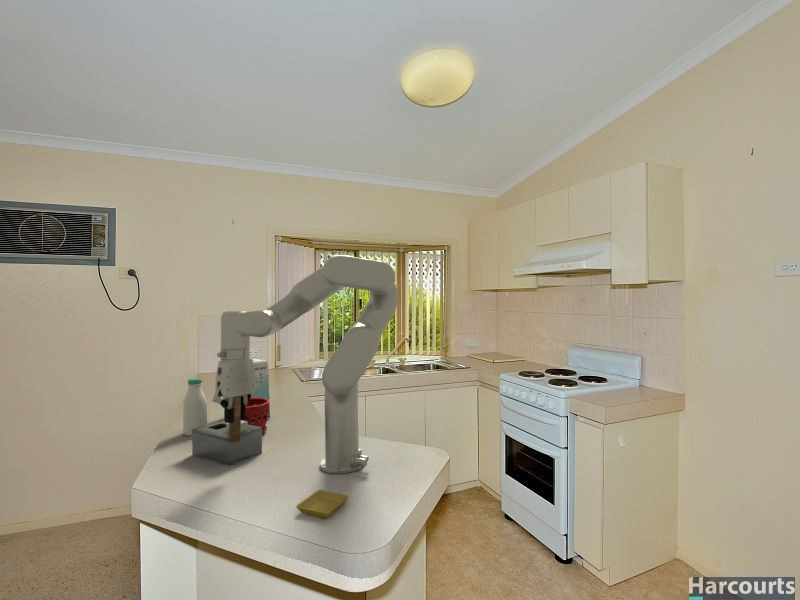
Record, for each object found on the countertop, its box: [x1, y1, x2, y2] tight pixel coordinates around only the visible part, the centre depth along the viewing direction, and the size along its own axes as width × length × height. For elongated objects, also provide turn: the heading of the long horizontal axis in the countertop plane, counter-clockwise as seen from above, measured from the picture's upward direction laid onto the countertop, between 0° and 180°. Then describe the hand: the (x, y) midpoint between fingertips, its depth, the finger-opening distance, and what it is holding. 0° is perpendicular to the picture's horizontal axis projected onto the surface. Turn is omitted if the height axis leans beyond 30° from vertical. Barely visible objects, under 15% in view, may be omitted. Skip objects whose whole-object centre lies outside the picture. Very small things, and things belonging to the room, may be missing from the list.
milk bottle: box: [182, 377, 208, 437], centre depth 146 cm, size 8×8×20 cm
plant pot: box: [242, 398, 270, 435], centre depth 143 cm, size 13×13×12 cm
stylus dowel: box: [229, 396, 241, 442], centre depth 110 cm, size 3×3×14 cm
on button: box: [226, 420, 248, 433], centre depth 121 cm, size 4×4×5 cm
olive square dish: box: [295, 489, 350, 519], centre depth 88 cm, size 9×9×2 cm
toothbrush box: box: [242, 357, 271, 419], centre depth 166 cm, size 18×10×24 cm, turn 41°
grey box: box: [191, 419, 263, 467], centre depth 123 cm, size 18×12×8 cm, turn 58°
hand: (235, 420), depth 109 cm, fingers closed on stylus dowel, 3 cm apart
